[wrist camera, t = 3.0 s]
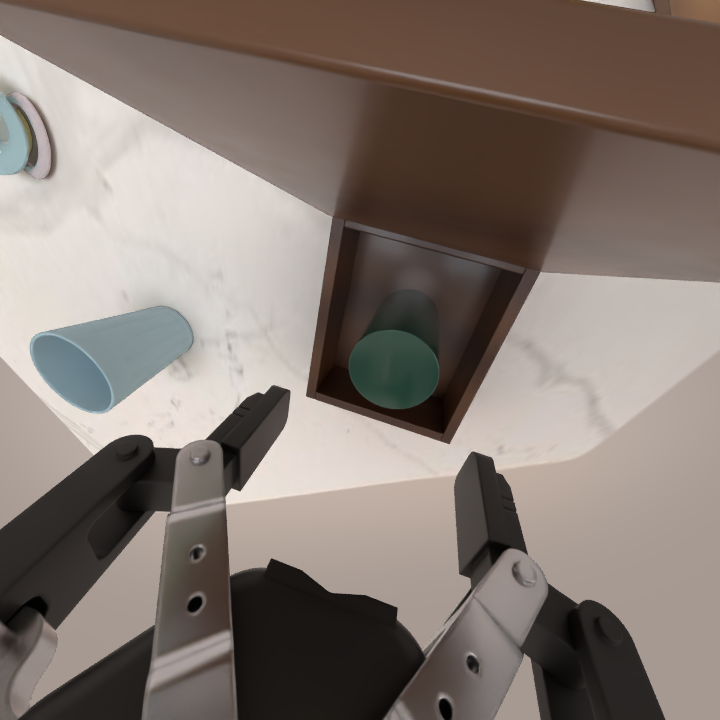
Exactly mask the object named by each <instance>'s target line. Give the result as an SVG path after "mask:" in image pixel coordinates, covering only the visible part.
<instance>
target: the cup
mask: <svg viewBox="0 0 720 720" xmlns="http://www.w3.org/2000/svg"><path fill="white" fill-rule="evenodd" d="M192 343H193V335H192V331H191V328H190V326H189V324H188V323H187V321H186V320H185V319H184V318H183V317H182V316H181V315H180V314H179V313H178V312H176V311H175V310H173V309H171V308H168V307H161V306H160V307H154V308H149V309H145V310H140V311H136V312H131V313H127V314H122V315H118V316H113V317H109V318H104V319H100V320H96V321H91V322H87V323H82V324H78V325H73V326H68V327H64V328H59V329H55V330H50V331H46V332H41V333H38V334H36V335H35V336H34V337H33V338H32V340H31V342H30V354H31V357H32V360H33V363H34V365H35V367H36V369H37V370H38V372H39V374H40V375H41V376H42V378H43V379H44V380H45V382H46V383H47V384H48V385H49V386H50V387H51V388H52V389H53V390H54V391H55V392H56V393H57V394H58V395H59V396H60V397H62V398H63V399H64V400H66V401H67V402H69V403H70V404H72V405H73V406H75V407H77V408H79V409H81V410H84V411H87V412H90V413H96V414H101V413H105V412H108V411H109V410H111V409H112V408H113V407H115V406H116V405H117V404H118V403H120V402H121V401H122V400H124V399H125V398H126V397H128V396H129V395H130V394H131V393H133V392H134V391H135V390H136V389H138V388H139V387H140V386H142V385H143V384H144V383H146V382H147V381H148V380H150V379H151V378H152V377H153V376H155V375H156V374H157V373H159V372H160V371H161V370H163V369H164V368H165V367H167V366H168V365H169V364H170V363H172V362H173V361H174V360H176V359H177V358H178V357H180V356H181V355H182V354H183V353H185V352H186V351H187V350H188V349H190V347H191V345H192Z"/></svg>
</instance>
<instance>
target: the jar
mask: <svg viewBox="0 0 720 720" xmlns="http://www.w3.org/2000/svg"><path fill="white" fill-rule="evenodd" d="M349 374H350V377H351V380H352V382H353V384H354V386H355V387H356V389H357V390H358V391H359V393H360V394H361V395H362V396H364V397H365V398H366V399H367V400H369V401H370V402H372V403H374V404H376V405H379V406H381V407H385V408H390V409H405V408H410V407H413V406H416V405H418V404H420V403H422V402H423V401H425V400H426V399H427V398H428V397H429V396H430V395H431V394H432V393H433V392H434V390H435V388H436V386H437V384H438V381H439V374H440V350H439V313H438V309H437V307H436V305H435V304H434V302H433V301H432V300H431V299H430V298H429V297H428V296H426V295H425V294H423V293H421V292H419V291H416V290H409V289H405V290H399V291H396V292H393V293H391V294H390V295H388V296H387V297H386V298H384V300H383V301H382V302H381V303H380V305H379V307H378V308H377V310H376V312H375V313H374V315H373V317H372V318H371V320H370V322H369V323H368V325H367V327H366V328H365V330H364V332H363V333H362V335H361V337H360V338H359V340H358V342H357V343H356V345H355V347H354V348H353V350H352V352H351V355H350V358H349Z"/></svg>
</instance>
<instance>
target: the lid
mask: <svg viewBox="0 0 720 720" xmlns="http://www.w3.org/2000/svg"><path fill="white" fill-rule="evenodd" d="M0 35H1V36H3V37H5V38H7V39H8V40H10V41H12V42H14V43H16V44H18V45H19V46H21V47H23V48H25V49H27V50H28V51H30V52H32V53H34V54H36V55H38V56H39V57H41V58H43V59H45V60H47V61H49V62H50V63H52V64H54V65H56V66H58V67H59V68H61V69H63V70H65V71H67V72H69V73H70V74H72V75H74V76H76V77H78V78H80V79H81V80H83V81H85V82H87V83H89V84H90V85H92V86H94V87H96V88H98V89H100V90H101V91H103V92H105V93H107V94H109V95H111V96H112V97H114V98H116V99H118V100H120V101H122V102H123V103H125V104H127V105H129V106H131V107H132V108H134V109H136V110H138V111H140V112H142V113H143V114H145V115H147V116H149V117H151V118H153V119H154V120H156V121H158V122H160V123H162V124H163V125H165V126H167V127H169V128H171V129H173V130H174V131H176V132H178V133H180V134H182V135H184V136H185V137H187V138H189V139H191V140H193V141H194V142H196V143H198V144H200V145H202V146H204V147H205V148H207V149H209V150H211V151H213V152H215V153H216V154H218V155H220V156H222V157H224V158H226V159H227V160H229V161H231V162H233V163H235V164H236V165H238V166H240V167H242V168H244V169H246V170H247V171H249V172H251V173H253V174H255V175H257V176H258V177H260V178H262V179H264V180H266V181H267V182H269V183H271V184H273V185H275V186H277V187H278V188H280V189H282V190H284V191H286V192H288V193H289V194H291V195H293V196H295V197H297V198H298V199H300V200H302V201H304V202H306V203H308V204H309V205H311V206H313V207H315V208H317V209H319V210H320V211H322V212H324V213H326V214H328V215H330V216H332V217H335V218H339V219H343V220H347V221H351V222H354V223H358V224H362V225H366V226H370V227H373V228H377V229H381V230H385V231H388V232H392V233H396V234H400V235H404V236H407V237H411V238H415V239H419V240H423V241H426V242H430V243H434V244H438V245H442V246H445V247H449V248H453V249H457V250H460V251H464V252H468V253H472V254H476V255H479V256H483V257H487V258H491V259H495V260H498V261H502V262H506V263H510V264H514V265H517V266H521V267H525V268H529V269H532V270H536V271H540V272H547V273H565V274H582V275H600V276H617V277H635V278H653V279H670V280H688V281H705V282H720V24H719V23H713V22H707V21H701V20H695V19H689V18H683V17H677V16H671V15H665V14H659V13H654V12H648V11H642V10H636V9H630V8H624V7H618V6H612V5H606V4H600V3H594V2H588V1H582V0H0Z"/></svg>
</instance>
